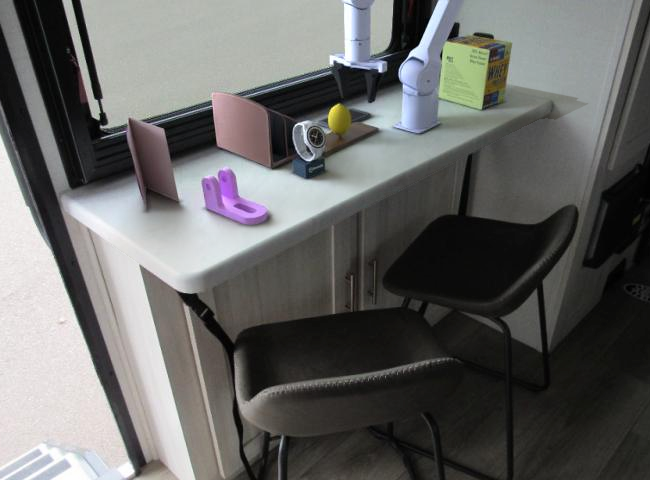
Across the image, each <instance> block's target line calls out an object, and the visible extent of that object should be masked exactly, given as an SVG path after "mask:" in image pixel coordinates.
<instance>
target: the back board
mask: <svg viewBox="0 0 650 480" xmlns="http://www.w3.org/2000/svg"><path fill="white" fill-rule="evenodd" d="M379 130H380V128H379V127H377V126H374V125H370V124H367V123H363V122H361V121H359V122H354V123H351V126H350V129H349V130H348V132H347V133H345V134H343V135H342V136H341V137H339V136H338V135H337V134H334V133H333V132H332V131H331V132H328V133H325V134H326V142H325V147H324V150H323V153H322V155H321V156H322V157H327V156H328V155H331V154H334V153H335V152H338V151H339V150H342V149H344V148H346V147H348V146H351V145H353V144H355V143H357V142H359V141H361V140H363V139H366V138H368V137H370V136H372V135H374V134H376V133H378V132H380V131H379ZM304 143H305V142H304ZM305 146H306V148H307V152H308V151H309V152H311V150H310V148H309V147H308V146H307V145H306V143H305Z"/></svg>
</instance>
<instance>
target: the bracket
mask: <svg viewBox="0 0 650 480" xmlns="http://www.w3.org/2000/svg"><path fill="white" fill-rule="evenodd" d="M201 187H202V194H203V200H204V206H205V209H207V210H210V211H211V212H214V213H216V214H219V215H221V216H224V217H227V218H228V219H231V220H234V221H236V222H239V223H241V224H243V225H258V224H261V223H264V222H265V221H266V220H268V210H267V207H266V206H264V205H263V204H260V203H258V202H255V201H252V200H250V199H247V198H245V197H241V196H240V195H239V189H238V182H237V177H236V173H235V172H234V171H233V169H231V168H229V167H224V168H222V169H220V170H219V171H217V178H216V177H215V175H212V174H209V175H207V176H205V177H203V178H202V179H201Z"/></svg>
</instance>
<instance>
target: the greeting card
mask: <svg viewBox="0 0 650 480" xmlns="http://www.w3.org/2000/svg"><path fill="white" fill-rule="evenodd" d="M124 128H125V129H124V130H125V135H126V139H127V140H126V141H127V145H128V148H129V150H130V153H131V156H132V161H133V165H134V171H135V176H136V177H135V178H136V182H137V186H138V190H139V193H140V195H141V198H142V201H143V204H144V209H145V210H147V194H146V188H147V189H149V190H151V191H154V192H156V193H158V194H161V195H163V196H166V197H167V198H170V199H172V200H175V201H177V202H180V199H179V193H178V189H177V184H176V180H175V173H174V170H173V165H172V161H171V160H172V159H171V157H170V156H171V155H170V151H169V146H168V141H167V137H166V132H165V128H162V127H160V126H157V125H153V124H151V123H147V122H145V121H142V120H139V119H136V118H133V117H130V116H127V126H124Z"/></svg>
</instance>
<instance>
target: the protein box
mask: <svg viewBox="0 0 650 480" xmlns="http://www.w3.org/2000/svg"><path fill="white" fill-rule="evenodd" d="M512 48H513V42H511V41H506V40H499V39H495V38H489V37H482V36H477V35H471V34H465V35H461V36H457V37H453V38H449V39H448V38H447V40H446V43H445V45H444V47H443V49H442V57H441V62H442V68H441V71H440V76H439V89H438V96H439V99H441V100H446V101H448V102H452V103H456V104H459V105H463V106H466V107H470V108H473V109H477V110H481V111H482V110H484V109H488V108H491V107H492V106H495V105H498V104H501V103H503V102H504V101H505V94H506V88H507V81H508V75H509V67H510V61H511V54H512Z"/></svg>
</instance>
